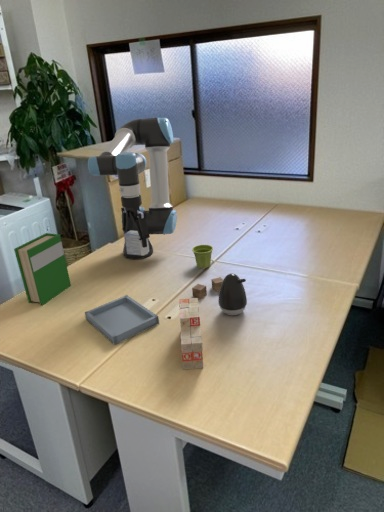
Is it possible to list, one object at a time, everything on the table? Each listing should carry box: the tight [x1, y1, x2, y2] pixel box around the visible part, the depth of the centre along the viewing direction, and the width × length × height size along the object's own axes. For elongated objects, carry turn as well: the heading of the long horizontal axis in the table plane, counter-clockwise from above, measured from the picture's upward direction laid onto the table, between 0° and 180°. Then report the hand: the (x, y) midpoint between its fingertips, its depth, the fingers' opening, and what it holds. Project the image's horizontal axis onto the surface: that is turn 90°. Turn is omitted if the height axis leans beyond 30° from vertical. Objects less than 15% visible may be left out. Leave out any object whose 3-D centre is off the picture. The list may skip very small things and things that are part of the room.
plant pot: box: [191, 244, 214, 269], centre depth 183 cm, size 9×9×9 cm
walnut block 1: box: [191, 283, 208, 300], centre depth 159 cm, size 4×4×4 cm
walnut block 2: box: [210, 276, 224, 292], centre depth 163 cm, size 4×4×4 cm
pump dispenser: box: [218, 273, 248, 316], centre depth 144 cm, size 10×10×15 cm
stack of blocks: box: [178, 297, 204, 370], centre depth 127 cm, size 21×6×12 cm, turn 2°
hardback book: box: [13, 232, 72, 307], centre depth 166 cm, size 18×7×24 cm, turn 156°
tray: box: [84, 294, 160, 345], centre depth 146 cm, size 22×18×3 cm
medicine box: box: [123, 230, 149, 256], centre depth 157 cm, size 8×4×9 cm, turn 65°
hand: (138, 251), depth 159 cm, fingers closed on medicine box, 9 cm apart
